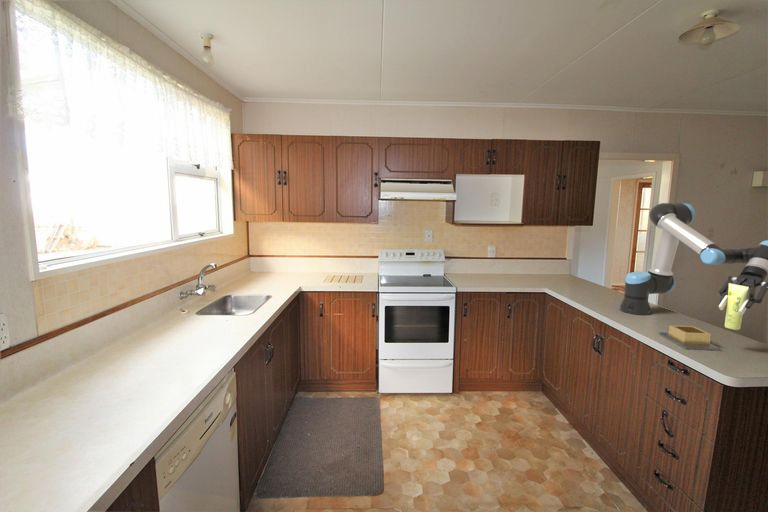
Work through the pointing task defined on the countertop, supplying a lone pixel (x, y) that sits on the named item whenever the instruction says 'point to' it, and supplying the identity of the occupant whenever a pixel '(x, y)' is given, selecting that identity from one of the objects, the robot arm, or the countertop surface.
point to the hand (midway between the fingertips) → (730, 310)
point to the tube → (735, 305)
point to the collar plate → (690, 338)
